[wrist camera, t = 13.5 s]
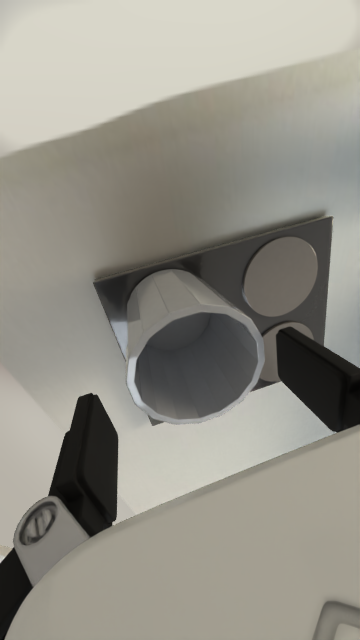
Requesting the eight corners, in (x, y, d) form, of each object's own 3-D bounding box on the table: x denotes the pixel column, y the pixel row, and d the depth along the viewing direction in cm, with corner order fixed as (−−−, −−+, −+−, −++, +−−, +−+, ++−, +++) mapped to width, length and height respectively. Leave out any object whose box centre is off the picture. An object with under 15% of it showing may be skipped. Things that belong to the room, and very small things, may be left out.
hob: (151, 418, 25) (152, 429, 23) (94, 279, 18) (92, 283, 16) (315, 362, 27) (324, 368, 25) (324, 215, 19) (336, 215, 18)
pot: (141, 361, 20) (151, 440, 13) (112, 283, 17) (103, 332, 10) (218, 336, 21) (267, 399, 13) (205, 258, 17) (260, 285, 10)
